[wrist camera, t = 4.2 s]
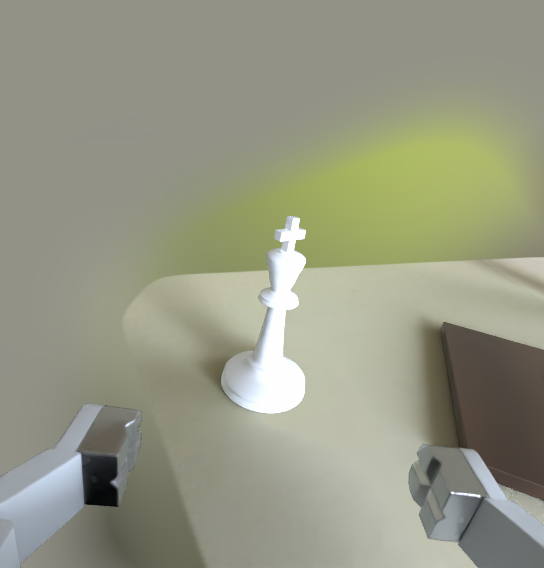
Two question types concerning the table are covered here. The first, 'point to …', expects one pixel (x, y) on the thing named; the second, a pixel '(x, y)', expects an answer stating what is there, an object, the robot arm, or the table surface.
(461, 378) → the board
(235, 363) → the chess piece
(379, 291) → the table surface
